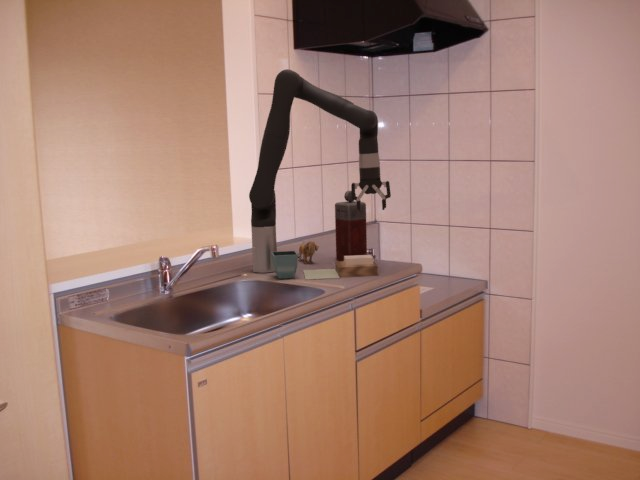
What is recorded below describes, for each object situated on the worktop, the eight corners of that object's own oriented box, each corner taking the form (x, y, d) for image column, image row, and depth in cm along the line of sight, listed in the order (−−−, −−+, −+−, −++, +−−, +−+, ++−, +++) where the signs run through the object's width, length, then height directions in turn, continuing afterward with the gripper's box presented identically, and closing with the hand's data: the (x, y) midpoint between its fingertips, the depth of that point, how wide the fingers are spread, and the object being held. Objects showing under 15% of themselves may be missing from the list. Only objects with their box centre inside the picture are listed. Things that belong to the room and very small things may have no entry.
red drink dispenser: (349, 256, 297) (348, 189, 292) (367, 260, 288) (365, 190, 283) (332, 259, 291) (330, 190, 287) (349, 263, 283) (348, 192, 278)
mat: (305, 279, 255) (305, 279, 254) (303, 271, 270) (302, 270, 270) (339, 278, 256) (339, 277, 255) (334, 269, 271) (334, 268, 271)
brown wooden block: (338, 277, 257) (338, 267, 257) (335, 270, 269) (335, 261, 269) (377, 275, 259) (377, 265, 258) (372, 268, 270) (372, 259, 270)
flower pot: (295, 274, 265) (294, 250, 263) (299, 279, 256) (298, 254, 255) (271, 275, 263) (271, 251, 262) (274, 280, 255) (273, 255, 253)
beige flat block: (346, 265, 260) (345, 258, 260) (344, 262, 266) (343, 255, 266) (373, 264, 261) (373, 257, 261) (370, 261, 267) (370, 254, 266)
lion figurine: (320, 263, 284) (320, 241, 283) (309, 265, 281) (308, 242, 280) (303, 258, 297) (302, 236, 295) (291, 259, 294) (290, 238, 293)
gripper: (349, 167, 258) (351, 212, 261) (388, 165, 257) (391, 210, 259) (350, 166, 266) (353, 210, 268) (389, 164, 264) (391, 208, 266)
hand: (371, 210), depth 264 cm, fingers open, 8 cm apart
